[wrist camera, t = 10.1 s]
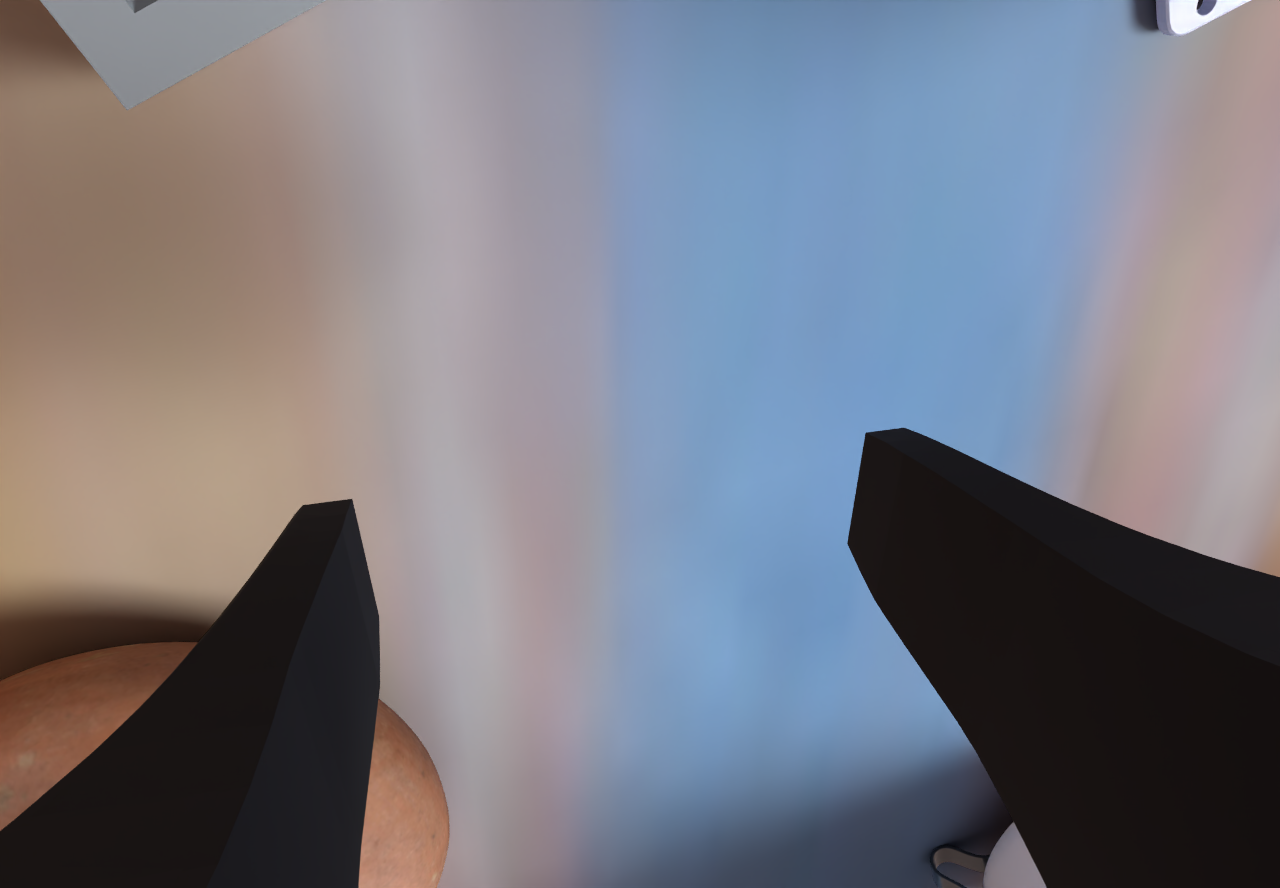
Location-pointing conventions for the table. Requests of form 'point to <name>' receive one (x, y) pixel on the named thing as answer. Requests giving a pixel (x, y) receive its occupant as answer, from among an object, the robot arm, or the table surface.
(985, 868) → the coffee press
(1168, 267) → the table surface
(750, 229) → the table surface
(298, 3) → the slate box
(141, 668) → the ceramic jug
